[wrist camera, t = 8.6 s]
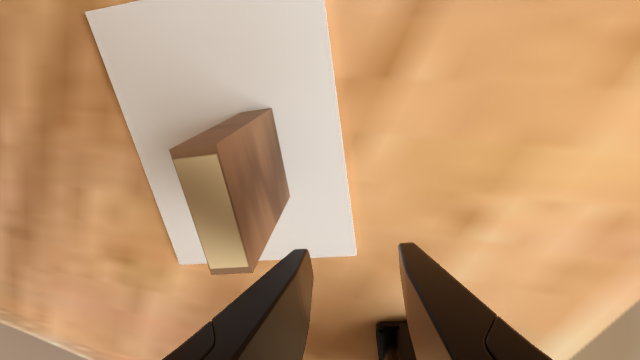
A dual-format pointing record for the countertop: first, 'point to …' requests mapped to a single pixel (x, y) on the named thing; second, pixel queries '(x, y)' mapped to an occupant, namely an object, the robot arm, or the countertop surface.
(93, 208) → the countertop surface
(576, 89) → the countertop surface
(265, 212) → the walnut slab
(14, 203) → the countertop surface
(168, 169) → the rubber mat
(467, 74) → the countertop surface
